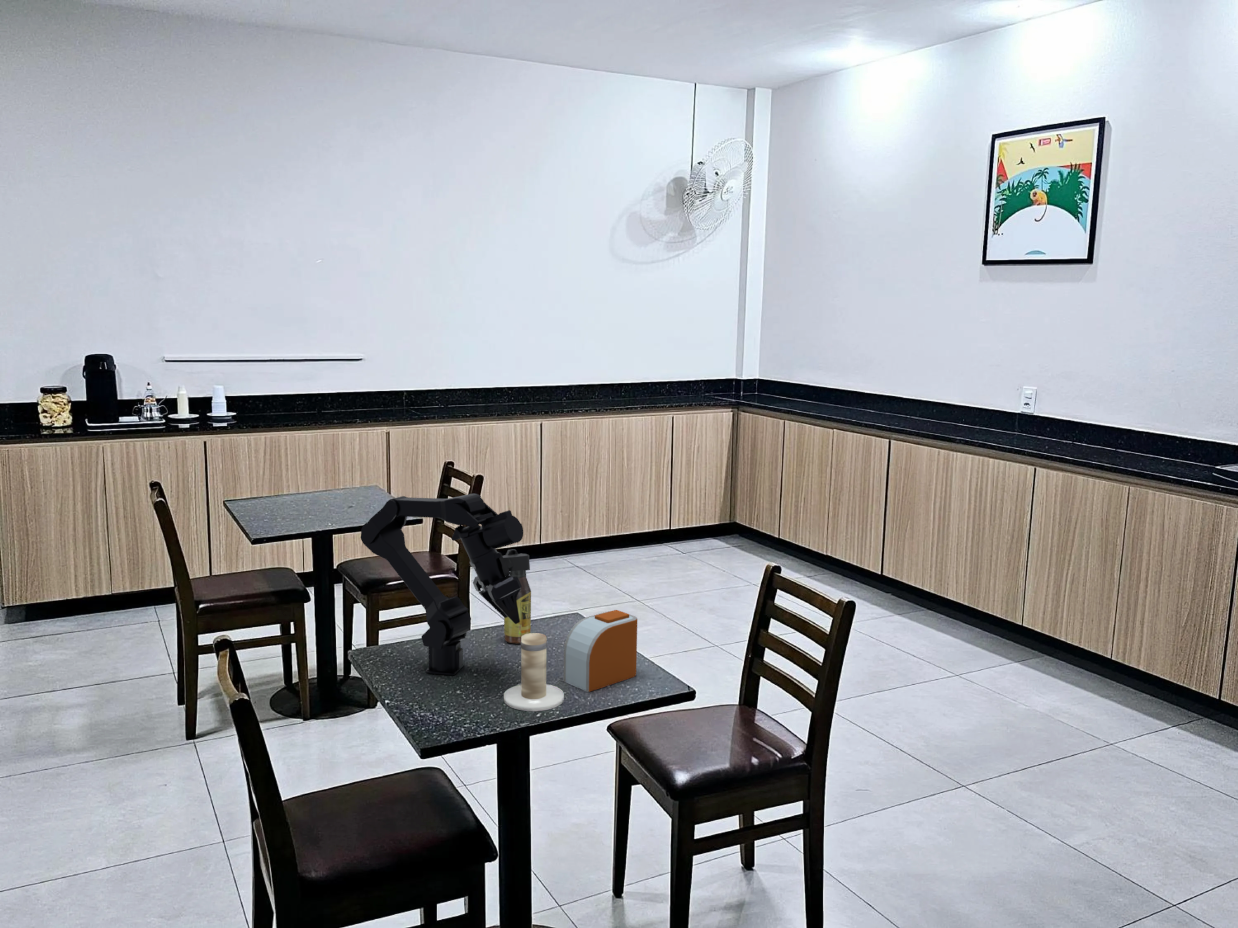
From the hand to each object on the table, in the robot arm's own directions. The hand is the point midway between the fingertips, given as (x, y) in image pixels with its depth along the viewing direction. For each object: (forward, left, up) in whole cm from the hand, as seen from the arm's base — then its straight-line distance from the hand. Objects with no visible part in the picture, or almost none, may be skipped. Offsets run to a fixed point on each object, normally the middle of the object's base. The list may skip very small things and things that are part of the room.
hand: (512, 619), depth 210 cm
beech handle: (+7, -10, -12) cm, 17 cm away
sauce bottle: (-6, +24, -13) cm, 28 cm away
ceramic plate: (+7, -10, -13) cm, 18 cm away
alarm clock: (+18, +5, -13) cm, 23 cm away
